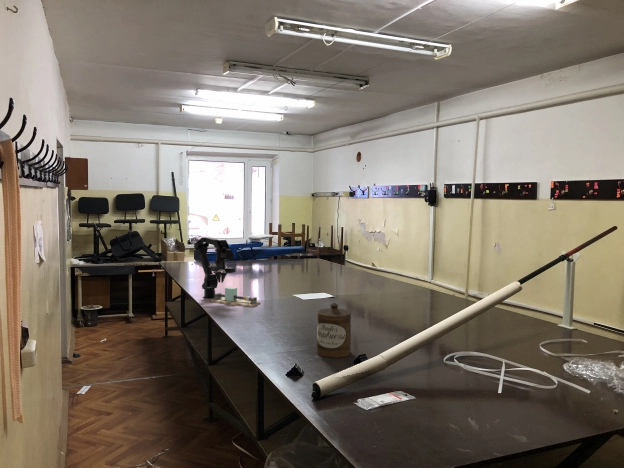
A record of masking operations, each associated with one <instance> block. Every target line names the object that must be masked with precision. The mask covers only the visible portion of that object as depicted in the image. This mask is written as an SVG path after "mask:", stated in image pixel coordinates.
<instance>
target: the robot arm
mask: <svg viewBox="0 0 624 468" xmlns="http://www.w3.org/2000/svg"><path fill="white" fill-rule="evenodd" d="M210 245H212V246H213V247H214V248H215V249H214V251H215V252H216V254H215V256H216V259H215V260H214V263H213V264H210V261H209V257H208V254H207V253H208V249H209V246H210ZM193 249H194V251H195V253H196V254H197V255H198V256H199V259H200V262H201V266H202V269H203V272H204V279H203V282H202V284H201V289H202V290H204V293H203V296H202V298H204V299H210V300H212V299H215V294H216V289H218V284H219V283H224V281H225V279H226V277H227V275H228V274H233V273H235V272H236V268H235V267H227V265H226V262H227V261H232V260H233V259H234V256H235V255H234V253H233V252H232V249H231V248H230V245H229V243H228V241H227V240H226V239H225V238H223V239H217V238H214V237H210V235H209V236H208V235H207V236H201V238H200V239H198V240H197V241H196V242H195V243H194V245H193Z"/></svg>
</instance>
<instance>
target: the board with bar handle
mask: <svg viewBox="0 0 624 468" xmlns="http://www.w3.org/2000/svg"><path fill="white" fill-rule="evenodd" d="M218 294H222V292H216V293H215V297H214V298H212V299H210V302H211V303H218V304H225V305H231V306H238V307H239V306H241V307H247V308H252V307H254V306H255V307H256V306H257V305H260V304H261V301H257V300H258V298H257V297H256V296H253V297H251V299H250V301H246V300H243V299H237V300H234V301H228V300H225V297H219V296H218ZM254 300H255V301H254Z"/></svg>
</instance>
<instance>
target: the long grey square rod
mask: <svg viewBox="0 0 624 468" xmlns="http://www.w3.org/2000/svg"><path fill="white" fill-rule="evenodd" d="M218 296H219V297H225V293H224V294H223V293H221V294H218ZM234 298H235V299H241V300H246V301H250V299H251V298H252V296H249V295H248V296H239V295H237V296H234ZM254 301H255V300H254Z"/></svg>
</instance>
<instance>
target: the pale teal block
mask: <svg viewBox="0 0 624 468" xmlns="http://www.w3.org/2000/svg"><path fill="white" fill-rule="evenodd" d="M224 295H225V300H228V301H234V300H237V299H235V298H234V296H238V287H235V286H233V287H231V286H228V287H225V288H224Z"/></svg>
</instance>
